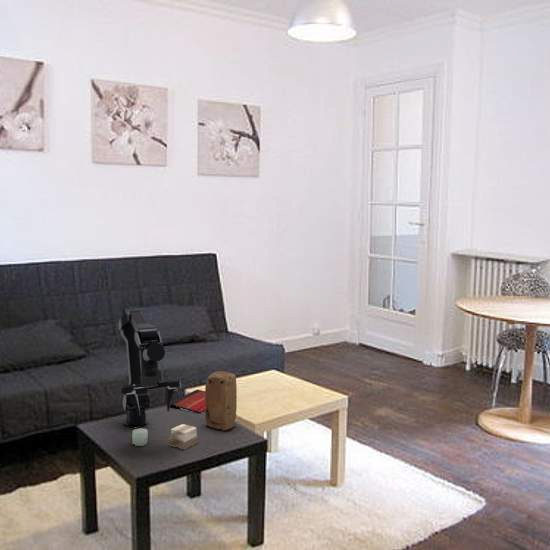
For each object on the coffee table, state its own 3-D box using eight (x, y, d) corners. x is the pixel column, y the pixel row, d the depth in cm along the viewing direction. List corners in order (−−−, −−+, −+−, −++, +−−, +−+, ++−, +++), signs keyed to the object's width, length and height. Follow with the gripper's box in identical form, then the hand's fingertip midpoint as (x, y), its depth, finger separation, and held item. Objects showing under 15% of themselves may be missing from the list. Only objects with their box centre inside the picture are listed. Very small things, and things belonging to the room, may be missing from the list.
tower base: (168, 446, 214) (168, 437, 213) (182, 440, 219) (182, 431, 219) (184, 451, 210) (184, 442, 209) (197, 444, 216) (198, 436, 215)
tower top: (171, 437, 213) (170, 429, 213) (182, 432, 218) (182, 423, 218) (184, 441, 210) (184, 433, 210) (196, 436, 215) (196, 427, 215)
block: (238, 426, 232) (239, 373, 229) (226, 433, 225) (227, 378, 223) (213, 420, 237) (213, 368, 235) (201, 427, 231) (202, 373, 228)
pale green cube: (129, 444, 214) (129, 431, 213) (140, 440, 218) (140, 427, 217) (140, 448, 211) (140, 435, 210) (150, 443, 215) (150, 430, 215)
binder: (167, 402, 251) (196, 388, 270) (166, 408, 251) (196, 394, 270) (201, 411, 244) (229, 396, 263) (201, 417, 244) (229, 401, 263)
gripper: (116, 366, 200) (120, 417, 197) (176, 359, 202) (181, 409, 199) (122, 369, 211) (125, 417, 208) (178, 362, 213) (183, 409, 210)
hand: (153, 413), depth 206 cm, fingers open, 9 cm apart
